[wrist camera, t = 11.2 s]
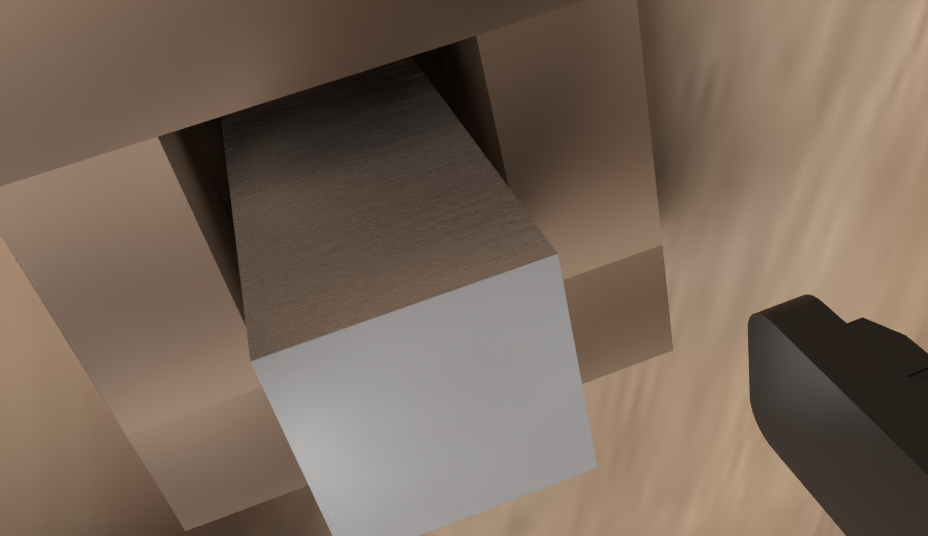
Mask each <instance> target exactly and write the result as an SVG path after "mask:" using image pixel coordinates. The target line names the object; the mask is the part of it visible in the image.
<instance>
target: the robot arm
mask: <svg viewBox="0 0 928 536" xmlns="http://www.w3.org/2000/svg"><path fill="white" fill-rule="evenodd" d="M748 350H749V384H750V402H751V407H752V411H753V414H754V417H755V420H756V422H757V424H758V426H759V428H760V430H761V432H762V434H763V436H764V437H765V439H766V440H767V442H768V443H769V445H770V446H771V447H772V448H773V450H774V451H775V452H776V453H777V454H778V455H779V457H780V458H781V459H782V460H783V461H784V463H785V464H786V465H787V466H788V467H789V468H790V470H791V471H792V472H793V473H794V474H795V476H796V477H797V478H798V479H799V480H800V482H801V483H802V484H803V485H804V486H805V487H806V489H807V490H808V491H809V492H810V493H811V495H812V496H813V497H814V498H815V499H816V500H817V502H818V503H819V504H820V505H821V506H822V508H823V509H824V510H825V511H826V512H827V514H828V515H829V516H830V517H831V518H832V519H833V521H834V522H835V523H836V524H837V525H838V527H839V528H840V529H841V530H842V531H843V532H844V534H845V535H846V536H928V353H927V352H925V351H924V350H923V349H922V348H920V347H919V346H918V345H917V344H916V343H914V342H913V341H912V340H911V339H910V338H908V337H907V336H906V335H903V334H901V333H899V332H896V331H894V330H891V329H889V328H887V327H884V326H882V325H879V324H877V323H875V322H872V321H870V320H867V319H865V318H860V319H857V320H855V321H852V322H850V323H846V322H845V321H843V320H842V319H841V318H840V317H839V316H838V315H837V314H835V313H834V312H833V311H832V310H831V309H830V308H829V307H827V306H826V305H825V304H824V303H823V302H822V301H820V300H819V299H818V298H816V297H814V296H812V295H803V296H800V297H797V298H795V299H792V300H789V301H787V302H784V303H782V304H779V305H776V306H774V307H771V308H768V309H766V310H763V311H760V312H758V313H755V314H753V315H752V316H751V317H750V319H749V322H748Z"/></svg>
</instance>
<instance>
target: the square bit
mask: <svg viewBox="0 0 928 536" xmlns="http://www.w3.org/2000/svg"><path fill="white" fill-rule="evenodd" d="M221 123H222V131H223V139H224V148H225V156H226V164H227V172H228V181H229V189H230V197H231V206H232V214H233V222H234V230H235V239H236V247H237V255H238V263H239V272H240V280H241V288H242V297H243V305H244V313H245V321H246V330H247V338H248V346H249V354H250V362H251V364H252V366H253V368H254V370H255V372H256V375H257V377H258V379H259V381H260V383H261V385H262V387H263V389H264V392H265V394H266V396H267V398H268V400H269V402H270V404H271V406H272V408H273V411H274V413H275V415H276V417H277V419H278V421H279V423H280V425H281V428H282V430H283V432H284V434H285V436H286V438H287V440H288V442H289V445H290V447H291V449H292V451H293V453H294V455H295V457H296V459H297V462H298V464H299V466H300V468H301V470H302V472H303V474H304V476H305V479H306V481H307V483H308V485H309V487H310V489H311V491H312V493H313V496H314V498H315V500H316V502H317V504H318V506H319V508H320V510H321V513H322V515H323V517H324V519H325V521H326V523H327V525H328V527H329V530H330V532H331V534H332V536H420V535H422V534H425V533H428V532H430V531H433V530H435V529H438V528H441V527H443V526H446V525H449V524H451V523H454V522H456V521H459V520H462V519H464V518H467V517H469V516H472V515H475V514H477V513H480V512H482V511H485V510H488V509H490V508H493V507H496V506H498V505H501V504H503V503H506V502H509V501H511V500H514V499H516V498H519V497H522V496H524V495H527V494H530V493H532V492H535V491H537V490H540V489H543V488H545V487H548V486H550V485H553V484H556V483H558V482H561V481H564V480H566V479H569V478H571V477H574V476H577V475H579V474H582V473H584V472H587V471H590V470H592V469H595V468H597V463H596V457H595V452H594V446H593V441H592V435H591V430H590V425H589V419H588V414H587V408H586V403H585V397H584V392H583V387H582V381H581V376H580V370H579V365H578V359H577V354H576V349H575V343H574V338H573V332H572V327H571V321H570V316H569V311H568V305H567V300H566V294H565V289H564V283H563V278H562V273H561V267H560V262H559V256H558V253H557V252H556V250H555V249H554V248H553V246H552V245H551V244H550V242H549V241H548V240H547V238H546V237H545V236H544V234H543V233H542V231H541V230H540V229H539V227H538V226H537V225H536V223H535V222H534V221H533V219H532V218H531V217H530V215H529V214H528V213H527V211H526V210H525V209H524V207H523V206H522V205H521V203H520V202H519V201H518V199H517V198H516V197H515V195H514V194H513V192H512V191H511V190H510V188H509V187H508V186H507V184H506V183H505V182H504V180H503V179H502V178H501V176H500V175H499V174H498V172H497V171H496V170H495V168H494V167H493V166H492V164H491V163H490V162H489V160H488V159H487V157H486V156H485V155H484V153H483V152H482V151H481V149H480V148H479V147H478V145H477V144H476V143H475V141H474V140H473V139H472V137H471V136H470V135H469V133H468V132H467V131H466V129H465V128H464V127H463V125H462V124H461V123H460V121H459V120H458V118H457V117H456V116H455V114H454V113H453V112H452V110H451V109H450V108H449V106H448V105H447V104H446V102H445V101H444V100H443V98H442V97H441V96H440V94H439V93H438V92H437V90H436V89H435V88H434V86H433V85H432V83H431V82H430V81H429V79H428V78H427V77H426V75H425V74H424V73H423V71H422V70H421V69H420V67H419V66H418V65H417V63H416V62H415V61H414V59H413V58H412V57H411V56H410V57H407V58H404V59H401V60H398V61H395V62H391V63H388V64H385V65H382V66H379V67H376V68H372V69H369V70H366V71H363V72H360V73H357V74H354V75H350V76H347V77H344V78H341V79H338V80H335V81H331V82H328V83H325V84H322V85H319V86H316V87H313V88H309V89H306V90H303V91H300V92H297V93H294V94H291V95H287V96H284V97H281V98H278V99H275V100H272V101H268V102H265V103H262V104H259V105H256V106H253V107H250V108H246V109H243V110H240V111H237V112H234V113H231V114H228V115H224V116H221Z"/></svg>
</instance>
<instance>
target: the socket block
mask: <svg viewBox="0 0 928 536" xmlns="http://www.w3.org/2000/svg"><path fill="white" fill-rule="evenodd" d="M435 48H439V50H440V54H441V58H442V62H443V67H444V71H445V75H446V79H447V83H448V87H449V91H450V95H451V100H452V104H453V108H454V112H455V116H456V117H457V118H458V120H459V121H460V123H461V124H462V125H463V127H464V128H465V129H466V131H467V132H468V133H469V135H470V136H471V137H472V139H473V140H474V141H475V143H476V144H477V145H478V147H479V148H480V149H481V151H482V152H483V153H484V155H485V156H486V157H487V159H488V160H489V162H490V163H491V164H492V166H493V167H494V168H495V170H496V171H497V172H498V174H499V175H500V176H501V178H502V179H503V180H504V182H505V183H506V184H507V186H508V187H509V188H510V190H511V191H512V192H513V194H514V195H515V197H516V198H517V199H518V201H519V202H520V203H521V205H522V206H523V207H524V209H525V210H526V211H527V213H528V214H529V215H530V217H531V218H532V219H533V221H534V222H535V223H536V225H537V226H538V227H539V229H540V230H541V231H542V233H543V234H544V236H545V237H546V238H547V240H548V241H549V242H550V244H551V245H552V246H553V248H554V249H555V250H556V252H557V253H558V256H559V262H560V267H561V273H562V278H563V283H564V289H565V294H566V300H567V305H568V311H569V316H570V321H571V327H572V332H573V338H574V343H575V349H576V354H577V359H578V365H579V370H580V376H581V381H582V384H583V383H586V382H589V381H591V380H594V379H597V378H600V377H602V376H605V375H608V374H610V373H613V372H616V371H618V370H621V369H624V368H626V367H629V366H632V365H635V364H637V363H640V362H643V361H645V360H648V359H651V358H653V357H656V356H659V355H661V354H664V353H667V352H670V351H672V350H673V344H672V335H671V325H670V315H669V305H668V296H667V286H666V276H665V266H664V256H663V247H662V237H661V227H660V217H659V208H658V198H657V188H656V178H655V169H654V159H653V149H652V139H651V130H650V120H649V110H648V100H647V91H646V81H645V71H644V61H643V52H642V42H641V32H640V22H639V13H638V3H637V0H0V235H1V236H2V238H3V239H4V241H5V243H6V244H7V246H8V247H9V249H10V251H11V252H12V254H13V255H14V257H15V259H16V260H17V262H18V263H19V265H20V267H21V268H22V270H23V271H24V273H25V275H26V276H27V278H28V280H29V281H30V283H31V284H32V286H33V288H34V289H35V291H36V292H37V294H38V296H39V297H40V299H41V300H42V302H43V304H44V305H45V307H46V308H47V310H48V312H49V313H50V315H51V316H52V318H53V320H54V321H55V323H56V324H57V326H58V328H59V329H60V331H61V332H62V334H63V336H64V337H65V339H66V340H67V342H68V344H69V345H70V347H71V348H72V350H73V352H74V353H75V355H76V357H77V358H78V360H79V361H80V363H81V365H82V366H83V368H84V369H85V371H86V373H87V374H88V376H89V377H90V379H91V381H92V382H93V384H94V385H95V387H96V389H97V390H98V392H99V393H100V395H101V397H102V398H103V400H104V401H105V403H106V405H107V406H108V408H109V409H110V411H111V413H112V414H113V416H114V417H115V419H116V421H117V422H118V424H119V425H120V427H121V429H122V430H123V432H124V434H125V435H126V437H127V438H128V440H129V442H130V443H131V445H132V446H133V448H134V450H135V451H136V453H137V454H138V456H139V458H140V459H141V461H142V462H143V464H144V466H145V467H146V469H147V470H148V472H149V474H150V475H151V477H152V478H153V480H154V482H155V483H156V485H157V486H158V488H159V490H160V491H161V493H162V494H163V496H164V498H165V499H166V501H167V502H168V504H169V506H170V507H171V509H172V510H173V512H174V514H175V515H176V517H177V519H178V520H179V522H180V523H181V525H182V527H183V528H184V530H185V531H187V530H190V529H193V528H196V527H198V526H201V525H204V524H206V523H209V522H212V521H214V520H217V519H220V518H222V517H225V516H228V515H231V514H233V513H236V512H239V511H241V510H244V509H247V508H249V507H252V506H255V505H257V504H260V503H263V502H266V501H268V500H271V499H274V498H276V497H279V496H282V495H284V494H287V493H290V492H293V491H295V490H298V489H301V488H303V487H306V486H309V485H308V483H307V481H306V479H305V476H304V474H303V472H302V470H301V468H300V466H299V464H298V462H297V459H296V457H295V455H294V453H293V451H292V449H291V447H290V445H289V442H288V440H287V438H286V436H285V434H284V432H283V430H282V428H281V425H280V423H279V421H278V419H277V417H276V415H275V413H274V411H273V408H272V406H271V404H270V402H269V400H268V398H267V396H266V394H265V392H264V389H263V387H262V385H261V383H260V381H259V379H258V377H257V375H256V372H255V370H254V368H253V366H252V364H251V362H250V354H249V346H248V338H247V330H246V321H245V313H244V305H243V297H242V288H241V280H240V272H239V263H238V255H237V247H236V239H235V232H234V230H233V228H232V225H231V223H230V221H229V219H228V216H227V214H226V212H225V209H224V207H223V205H222V203H221V200H220V198H219V196H218V193H217V191H216V189H215V187H214V184H213V182H212V180H211V178H210V175H209V173H208V171H207V168H206V166H205V164H204V162H203V159H202V157H201V155H200V152H199V150H198V148H197V146H196V143H195V141H194V139H193V136H192V134H191V132H190V130H189V127H190V126H193V125H196V124H199V123H202V122H205V121H209V120H212V119H215V118H218V117H221V116H224V115H228V114H231V113H234V112H237V111H240V110H243V109H246V108H250V107H253V106H256V105H259V104H262V103H265V102H268V101H272V100H275V99H278V98H281V97H284V96H287V95H291V94H294V93H297V92H300V91H303V90H306V89H309V88H313V87H316V86H319V85H322V84H325V83H328V82H331V81H335V80H338V79H341V78H344V77H347V76H350V75H354V74H357V73H360V72H363V71H366V70H369V69H372V68H376V67H379V66H382V65H385V64H388V63H391V62H395V61H398V60H401V59H404V58H407V57H410V56H413V55H417V54H420V53H423V52H426V51H429V50H432V49H435Z"/></svg>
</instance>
